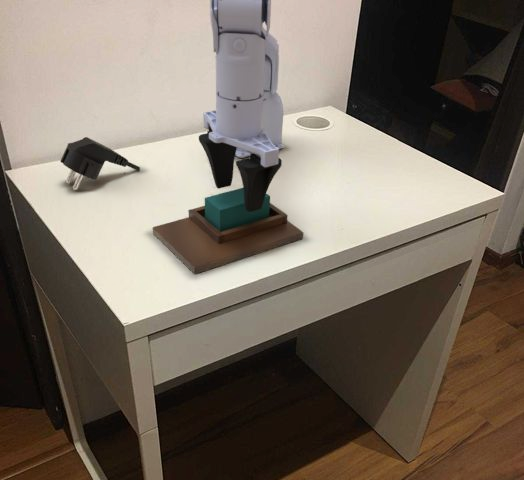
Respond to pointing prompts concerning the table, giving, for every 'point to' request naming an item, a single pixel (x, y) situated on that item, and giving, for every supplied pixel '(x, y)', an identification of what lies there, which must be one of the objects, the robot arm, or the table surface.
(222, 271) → the table surface
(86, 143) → the power plug
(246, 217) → the teal rectangular block
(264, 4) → the robot arm
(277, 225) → the brown wooden tray
